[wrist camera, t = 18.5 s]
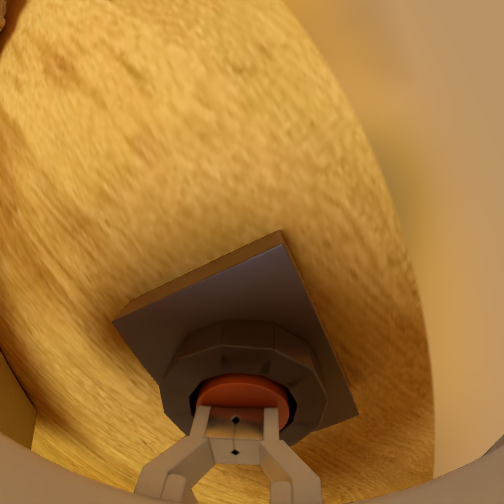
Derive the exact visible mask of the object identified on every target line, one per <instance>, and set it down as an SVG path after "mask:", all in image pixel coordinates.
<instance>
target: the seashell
mask: <svg viewBox="0 0 504 504" xmlns="http://www.w3.org/2000/svg"><path fill="white" fill-rule="evenodd" d="M6 2H7V0H0V32H1V30H2V29H3V27H4V25H5V22H6V21H5V19H4V15H5V13H6Z"/></svg>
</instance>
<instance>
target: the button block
mask: <svg viewBox="0 0 504 504" xmlns="http://www.w3.org/2000/svg"><path fill="white" fill-rule="evenodd" d="M112 323H113V325H114V326H115V328H116V329H117V331H118V332H119V334H120V335H121V336H122V338H123V339H124V341H125V342H126V343H127V345H128V346H129V348H130V349H131V350H132V352H133V353H134V354H135V356H136V357H137V358H138V360H139V361H140V362H141V364H142V365H143V366H144V368H145V369H146V370H147V371H148V373H149V374H150V375H151V376H152V378H153V379H154V380H155V381H156V383H157V384H158V385H159V388H160V393H161V398H162V403H163V408H164V413H165V414H166V415H167V416H168V417H169V418H170V419H171V421H172V422H173V423H174V424H175V425H176V426H177V427H178V428H179V429H180V430H181V431H182V432H183V433H184V434H185V435H186V436H189V435H190V431H191V428H192V424H193V420H194V417H195V413H196V402H197V399H198V395H199V392H200V388H201V385H202V381H203V380H206V379H209V378H213V377H216V376H219V375H222V374H226V373H240V374H252V375H263V376H265V377H267V378H269V379H271V380H273V381H275V382H277V383H279V384H281V385H283V386H286V387H287V390H288V402H289V418H288V421H287V423H286V424H285V426H284V427H283V428H282V429H281V430H280V431H279V440H284V441H285V442H286V444H287V445H288V446H289V447H290V446H293V445H295V444H296V443H297V442H299V441H300V440H302V439H303V438H304V437H306V436H307V435H308V434H310V433H311V432H314V431H317V430H320V429H323V428H326V427H329V426H332V425H334V424H337V423H340V422H342V421H345V420H348V419H350V418H353V417H355V416H358V415H359V411H358V408H357V405H356V402H355V399H354V396H353V393H352V390H351V388H350V385H349V383H348V380H347V378H346V376H345V373H344V371H343V368H342V366H341V364H340V361H339V359H338V357H337V354H336V352H335V350H334V347H333V345H332V343H331V340H330V338H329V336H328V333H327V331H326V329H325V327H324V324H323V322H322V320H321V317H320V315H319V313H318V311H317V308H316V306H315V304H314V302H313V300H312V297H311V295H310V293H309V291H308V289H307V286H306V284H305V282H304V280H303V278H302V275H301V273H300V271H299V269H298V267H297V265H296V263H295V260H294V258H293V256H292V254H291V252H290V250H289V248H288V246H287V243H286V241H285V239H284V237H283V235H282V233H281V231H280V230H278V231H276V232H274V233H272V234H270V235H268V236H266V237H263V238H261V239H259V240H257V241H255V242H253V243H251V244H249V245H246V246H244V247H242V248H240V249H238V250H236V251H234V252H232V253H230V254H227V255H225V256H223V257H221V258H219V259H217V260H215V261H213V262H211V263H209V264H206V265H204V266H202V267H200V268H198V269H196V270H194V271H192V272H190V273H188V274H186V275H183V276H181V277H179V278H177V279H175V280H173V281H171V282H169V283H167V284H165V285H163V286H161V287H158V288H156V289H154V290H152V291H150V292H148V293H146V294H144V295H142V296H140V297H138V298H136V299H134V300H132V301H130V302H129V303H128V304H127V306H126V307H125V308H124V309H123V310H122V311H121V312H120V313H119V314H118V315H117V316H116V317H115V318H114V319H113V321H112Z"/></svg>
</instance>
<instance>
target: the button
mask: <svg viewBox="0 0 504 504" xmlns="http://www.w3.org/2000/svg"><path fill="white" fill-rule="evenodd" d="M198 405H205V406H218V407H232V408H276V407H277V408H278V420H279V431H280V430H281V429H282V428H283V427H284V426H285V424H286V423H287V421H288V418H289V402H288V390H287V387H286V386H283V385H281V384H279V383H277V382H275V381H273V380H271V379H269V378H267V377H265V376H263V375H252V374H240V373H226V374H222V375H219V376H216V377H213V378H209V379H206V380H203V381H202V385H201V388H200V392H199V395H198V399H197V402H196V409H197V407H198Z"/></svg>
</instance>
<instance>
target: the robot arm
mask: <svg viewBox="0 0 504 504" xmlns="http://www.w3.org/2000/svg"><path fill="white" fill-rule="evenodd" d="M215 463H223V464H245V465H259V466H260V468H261V469H262V470H263V472H264V473H265V475H266V476H267V477H268V479H269V480H270V481H271V483H272V484H270V499H269V504H323V498H322V490H321V482H320V477H319V476H318V475H317V474H316V473H315V472H314V471H313V470H312V469H311V468H310V467H309V466H308V465H307V464H306V463H305V462H304V461H303V460H302V459H301V458H300V457H299V456H298V455H297V454H296V453H295V452H294V451H293V450H292V449H291V448H290V447H289V446H288V445H287V444H286V442H285V441H284V440H279V420H278V408H277V407H276V408H232V407H218V406H205V405H198V407H197V409H196V413H195V417H194V420H193V424H192V428H191V431H190V435H189V436H184V437H183V438H182V439H181V440H179V441H178V442H177V443H175V444H174V445H173V446H171V447H170V448H169V449H167V450H166V451H165V452H163V453H162V454H160V455H159V456H158V457H156V458H155V459H153V460H152V461H151V462H149V463H148V464H146V465H145V466H143V468H142V471H141V474H140V476H139V479H138V482H137V485H136V487H135V490H134V493H133V492H130V491H126V490H123V489H119V488H116V487H113V486H110V485H107V484H104V483H101V482H99V481H96V480H93V479H91V478H88V477H86V476H83V475H81V474H78V473H76V472H73V471H71V470H69V469H67V468H64V467H62V466H60V465H58V464H56V463H54V462H52V461H50V460H48V459H46V458H44V457H42V456H40V455H38V454H36V453H35V452H33V451H31V450H29V449H27V448H26V447H24V446H22V445H21V444H19V443H17V442H16V441H14V440H12V439H11V438H9V437H8V436H6V435H5V434H3V433H2V432H0V504H198V501H197V499H196V497H195V495H194V493H193V491H192V489H191V488H192V487H193V486H194V485H195V484H196V483H197V482H198V481H199V480H200V479H201V478H202V477H203V476H204V475H205V474H206V473H207V472H208V471H209V470H210V469H211V468H212V467H213V466H214V464H215ZM344 504H504V445H502V446H500V447H499V448H497V449H495V450H494V451H492V452H490V453H488V454H486V455H485V456H483V457H481V458H479V459H477V460H475V461H473V462H471V463H469V464H467V465H465V466H463V467H461V468H458V469H456V470H454V471H452V472H450V473H447V474H445V475H442V476H440V477H438V478H435V479H432V480H430V481H427V482H424V483H421V484H418V485H416V486H413V487H410V488H406V489H403V490H400V491H396V492H393V493H389V494H386V495H382V496H378V497H374V498H369V499H365V500H360V501H355V502H350V503H344Z"/></svg>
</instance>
